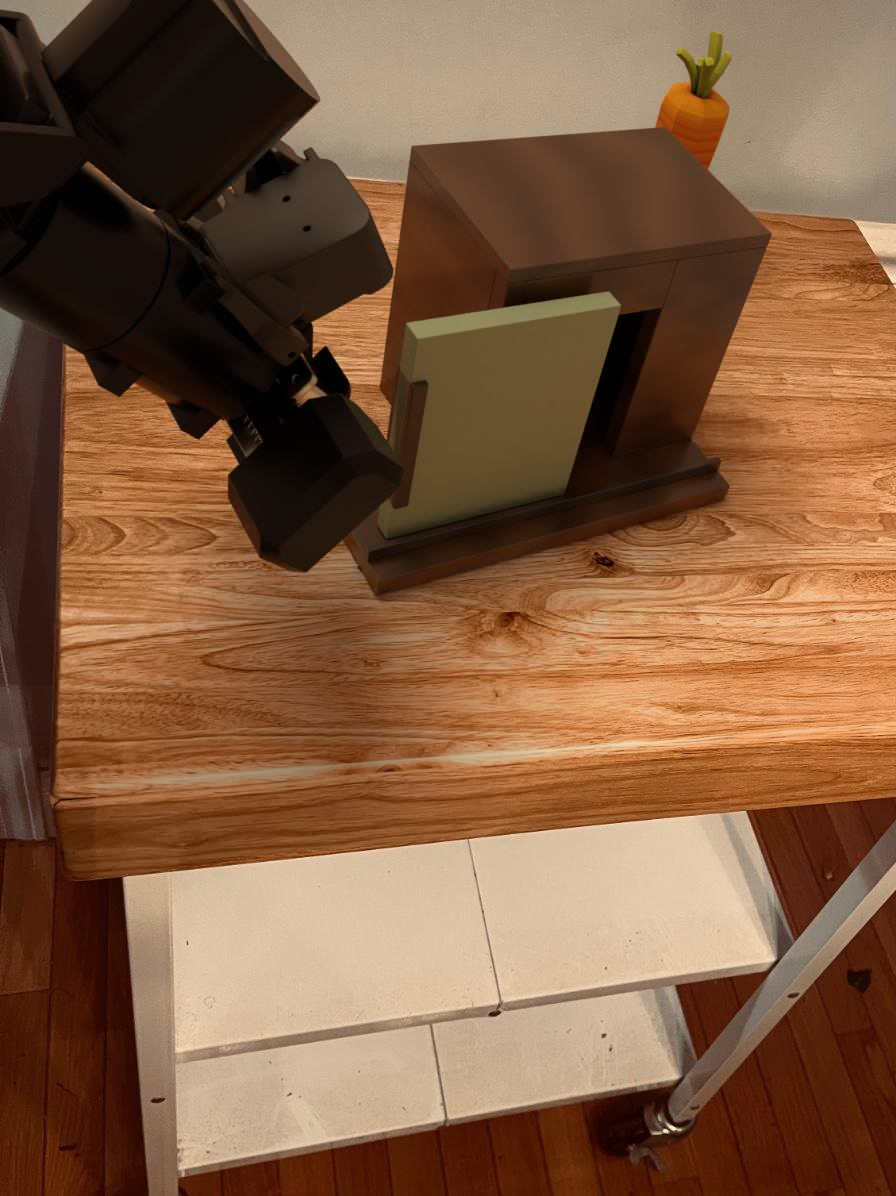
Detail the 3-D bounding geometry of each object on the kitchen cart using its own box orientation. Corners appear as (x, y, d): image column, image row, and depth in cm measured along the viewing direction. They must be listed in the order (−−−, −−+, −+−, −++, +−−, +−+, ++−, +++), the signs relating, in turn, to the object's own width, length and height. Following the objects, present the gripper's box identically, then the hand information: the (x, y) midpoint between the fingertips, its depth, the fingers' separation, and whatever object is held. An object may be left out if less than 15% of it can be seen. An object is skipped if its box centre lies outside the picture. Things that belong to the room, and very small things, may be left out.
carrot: (663, 260, 88) (726, 64, 77) (612, 227, 90) (667, 29, 79) (700, 240, 91) (765, 49, 80) (650, 208, 93) (708, 16, 82)
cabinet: (376, 596, 61) (414, 350, 49) (266, 408, 68) (277, 154, 56) (724, 499, 72) (821, 281, 61) (599, 347, 79) (664, 126, 68)
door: (388, 544, 62) (420, 343, 52) (374, 520, 62) (402, 318, 53) (567, 498, 67) (625, 309, 58) (551, 477, 68) (606, 287, 58)
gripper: (378, 278, 37) (591, 463, 51) (175, -6, 46) (403, 215, 60) (134, 510, 39) (403, 629, 53) (-15, 194, 48) (247, 365, 61)
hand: (365, 444), depth 56 cm, fingers closed
